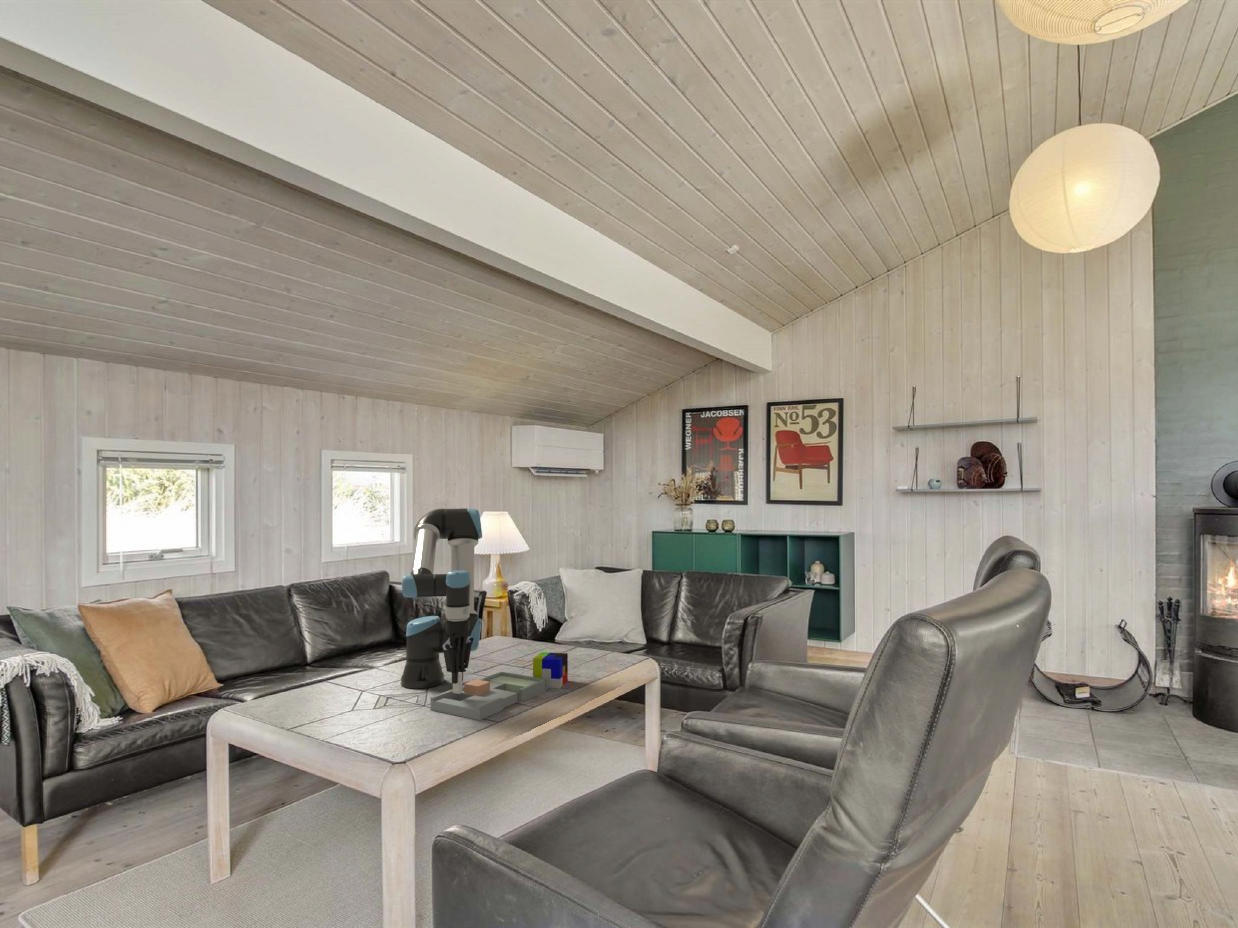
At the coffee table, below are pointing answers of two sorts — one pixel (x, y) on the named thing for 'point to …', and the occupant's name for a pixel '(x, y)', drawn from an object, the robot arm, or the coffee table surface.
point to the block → (477, 687)
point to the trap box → (490, 696)
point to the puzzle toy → (551, 668)
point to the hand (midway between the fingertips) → (457, 692)
